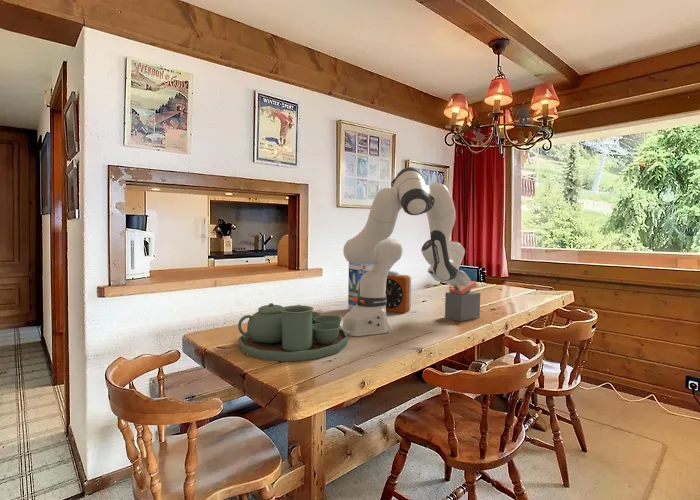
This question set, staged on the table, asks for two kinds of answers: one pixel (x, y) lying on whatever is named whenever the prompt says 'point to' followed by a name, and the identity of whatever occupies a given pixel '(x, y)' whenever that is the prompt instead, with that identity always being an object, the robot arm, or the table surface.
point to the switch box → (462, 306)
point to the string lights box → (355, 281)
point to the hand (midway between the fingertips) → (457, 287)
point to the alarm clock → (398, 292)
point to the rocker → (463, 288)
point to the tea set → (291, 334)
